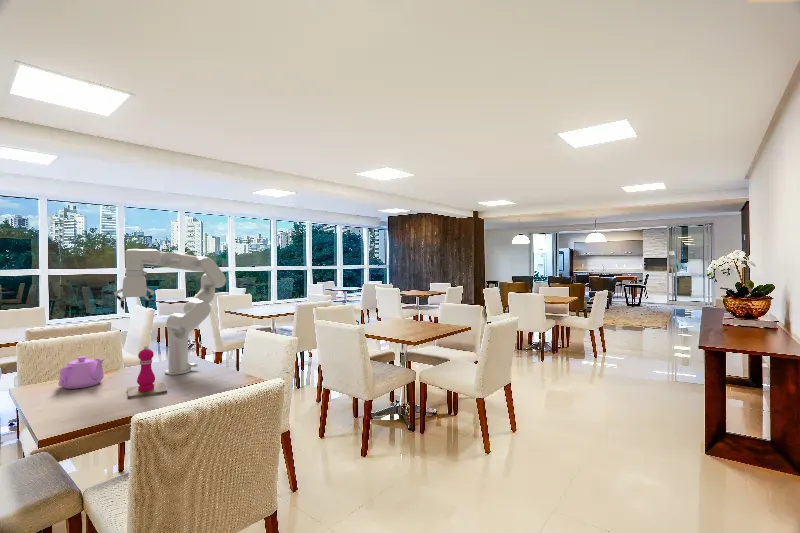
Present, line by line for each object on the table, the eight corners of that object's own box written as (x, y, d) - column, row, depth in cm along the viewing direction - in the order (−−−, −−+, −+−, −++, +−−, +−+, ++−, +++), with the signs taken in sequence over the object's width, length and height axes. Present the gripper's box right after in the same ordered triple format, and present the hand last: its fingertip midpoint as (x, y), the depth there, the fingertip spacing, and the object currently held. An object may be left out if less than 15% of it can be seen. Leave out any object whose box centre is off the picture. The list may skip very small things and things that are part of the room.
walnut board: (164, 384, 207) (164, 382, 207) (167, 393, 194) (167, 390, 194) (127, 390, 198) (127, 387, 198) (128, 399, 186) (128, 396, 186)
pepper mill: (141, 392, 191) (140, 348, 190) (134, 389, 195) (133, 346, 195) (158, 389, 196) (157, 345, 196) (151, 386, 201) (150, 343, 200)
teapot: (83, 394, 192) (83, 363, 192) (44, 391, 196) (43, 361, 196) (124, 380, 213) (124, 353, 213) (88, 378, 218) (87, 351, 217)
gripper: (154, 273, 219) (154, 306, 220) (113, 274, 210) (113, 308, 210) (155, 274, 213) (155, 308, 213) (113, 274, 204) (113, 310, 204)
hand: (134, 308), depth 212 cm, fingers open, 9 cm apart
